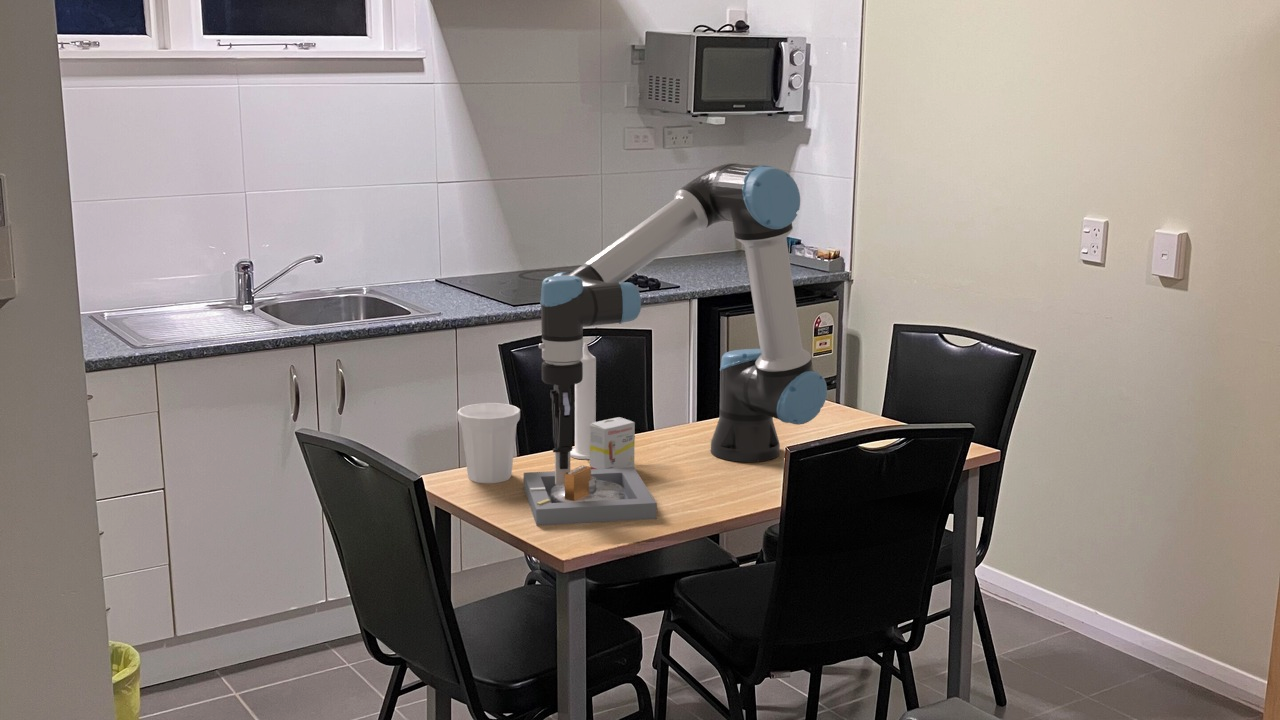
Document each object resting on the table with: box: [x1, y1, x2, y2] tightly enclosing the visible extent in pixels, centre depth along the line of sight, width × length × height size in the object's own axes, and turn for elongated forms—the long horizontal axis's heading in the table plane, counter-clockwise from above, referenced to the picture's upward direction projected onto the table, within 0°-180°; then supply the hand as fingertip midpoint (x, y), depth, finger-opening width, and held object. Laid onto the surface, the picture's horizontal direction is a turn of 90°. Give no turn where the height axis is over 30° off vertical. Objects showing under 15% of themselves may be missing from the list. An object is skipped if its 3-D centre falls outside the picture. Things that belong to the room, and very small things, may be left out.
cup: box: [456, 402, 521, 484], centre depth 250 cm, size 12×12×15 cm
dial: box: [551, 464, 625, 503], centre depth 235 cm, size 14×14×7 cm
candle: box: [570, 342, 597, 460], centre depth 269 cm, size 7×7×25 cm
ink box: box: [589, 416, 636, 469], centre depth 255 cm, size 9×5×12 cm, turn 133°
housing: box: [523, 466, 658, 526], centre depth 236 cm, size 22×22×5 cm
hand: (562, 483), depth 234 cm, fingers closed
